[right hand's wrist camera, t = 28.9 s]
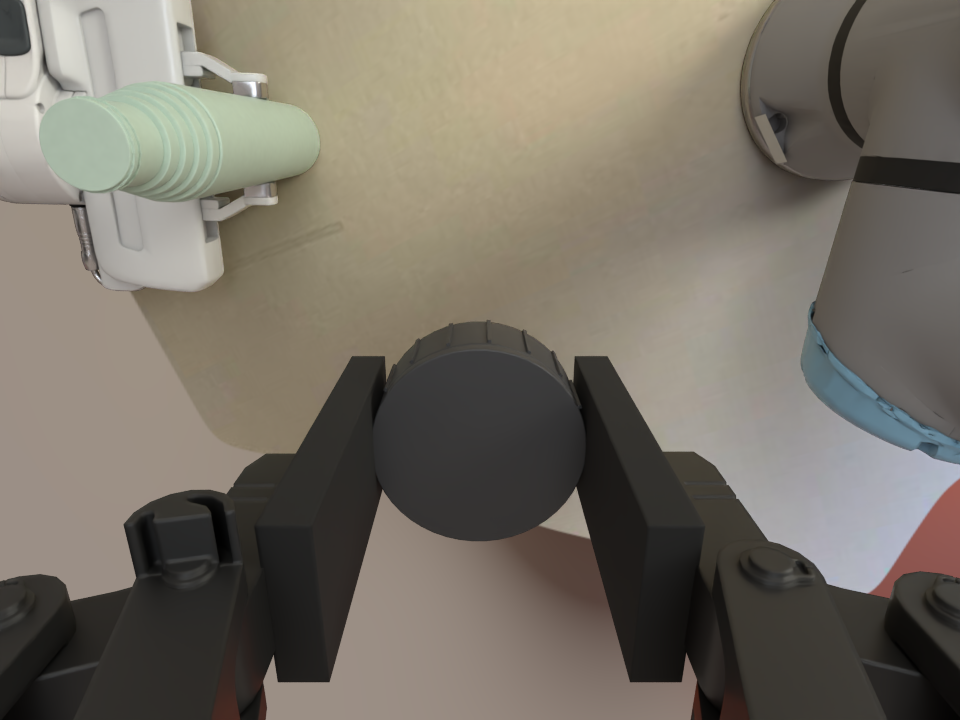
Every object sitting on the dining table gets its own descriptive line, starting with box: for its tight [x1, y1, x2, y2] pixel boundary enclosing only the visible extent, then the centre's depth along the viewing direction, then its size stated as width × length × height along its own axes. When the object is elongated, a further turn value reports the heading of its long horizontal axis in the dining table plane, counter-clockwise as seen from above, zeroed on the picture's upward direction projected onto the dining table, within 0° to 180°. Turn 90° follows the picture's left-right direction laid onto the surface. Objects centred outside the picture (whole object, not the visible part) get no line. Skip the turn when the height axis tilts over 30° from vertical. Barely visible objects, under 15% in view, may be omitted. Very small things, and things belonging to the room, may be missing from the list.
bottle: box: [39, 81, 320, 203], centre depth 34 cm, size 5×5×26 cm
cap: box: [372, 320, 586, 541], centre depth 13 cm, size 5×5×2 cm
